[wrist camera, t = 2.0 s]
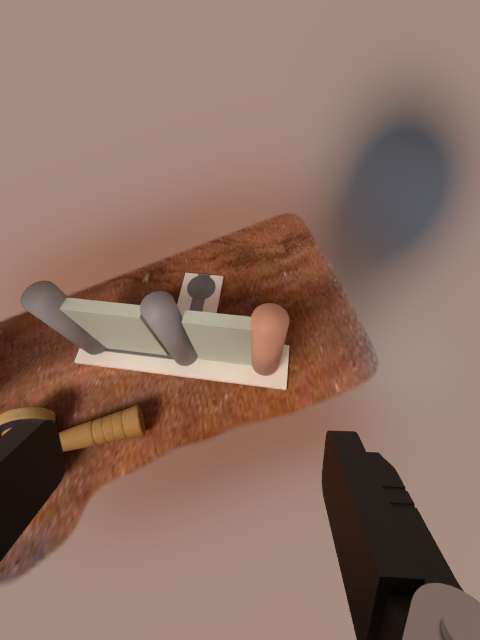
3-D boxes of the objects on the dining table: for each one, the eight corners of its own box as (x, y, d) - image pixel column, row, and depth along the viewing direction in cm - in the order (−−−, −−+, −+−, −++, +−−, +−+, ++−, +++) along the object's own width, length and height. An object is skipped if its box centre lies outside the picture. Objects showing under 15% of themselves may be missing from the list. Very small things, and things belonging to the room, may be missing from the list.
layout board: (76, 363, 34) (73, 361, 34) (113, 267, 40) (112, 265, 40) (286, 389, 32) (286, 388, 32) (293, 284, 38) (293, 282, 37)
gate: (198, 367, 33) (176, 327, 23) (203, 342, 34) (184, 294, 25) (277, 377, 32) (288, 339, 22) (280, 351, 33) (290, 305, 24)
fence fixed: (81, 354, 34) (10, 306, 24) (90, 330, 36) (27, 276, 26) (195, 368, 33) (169, 324, 23) (200, 343, 34) (178, 291, 24)
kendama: (140, 383, 34) (-42, 431, 30) (129, 375, 28) (-98, 433, 24) (154, 453, 32) (-40, 515, 28) (145, 460, 26) (-101, 539, 22)
